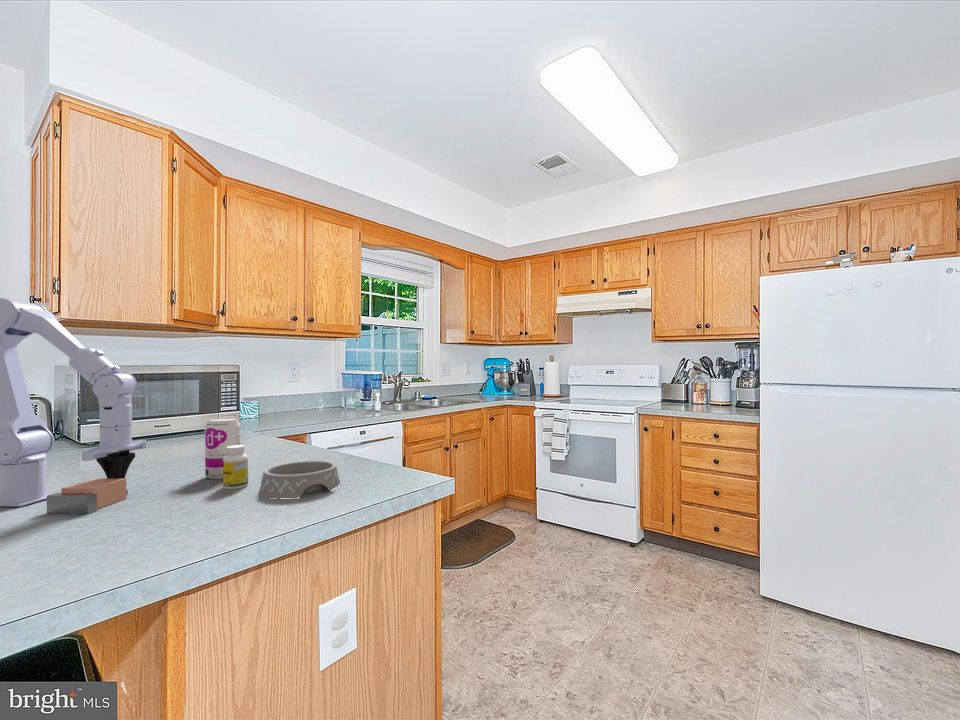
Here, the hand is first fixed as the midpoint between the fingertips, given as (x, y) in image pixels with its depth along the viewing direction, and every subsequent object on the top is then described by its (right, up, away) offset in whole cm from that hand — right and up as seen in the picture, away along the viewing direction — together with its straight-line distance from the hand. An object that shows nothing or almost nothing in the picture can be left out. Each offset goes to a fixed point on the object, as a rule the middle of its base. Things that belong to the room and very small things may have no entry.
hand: (116, 486), depth 103 cm
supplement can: (+14, -3, +19) cm, 23 cm away
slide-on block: (0, -2, -5) cm, 6 cm away
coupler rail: (0, -2, -5) cm, 5 cm away
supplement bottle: (+23, -2, +8) cm, 24 cm away
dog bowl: (+39, -3, +6) cm, 40 cm away
